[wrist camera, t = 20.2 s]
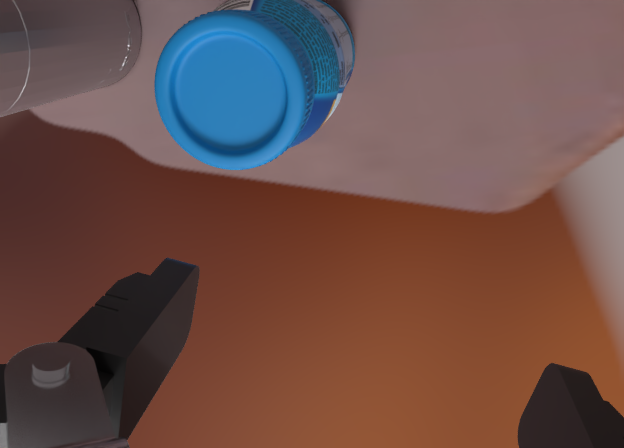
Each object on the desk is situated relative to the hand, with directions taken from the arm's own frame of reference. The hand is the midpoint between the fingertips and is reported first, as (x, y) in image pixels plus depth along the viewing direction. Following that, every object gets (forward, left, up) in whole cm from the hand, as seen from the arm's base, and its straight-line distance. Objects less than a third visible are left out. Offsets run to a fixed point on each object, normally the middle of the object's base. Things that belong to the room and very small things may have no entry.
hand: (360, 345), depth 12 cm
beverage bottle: (-7, +2, -32) cm, 33 cm away
